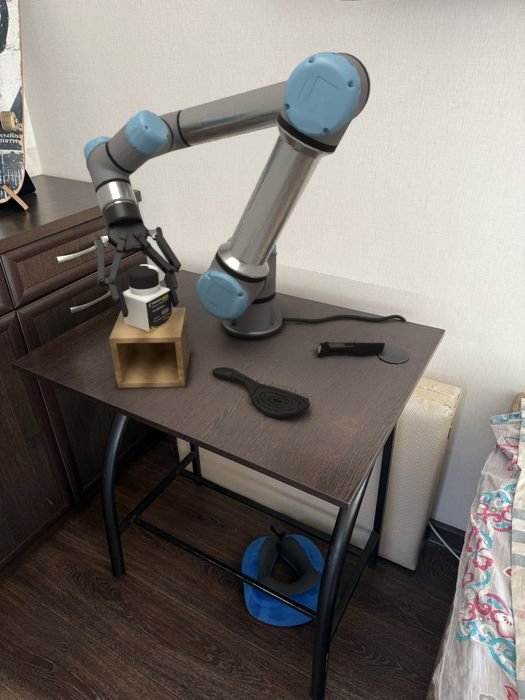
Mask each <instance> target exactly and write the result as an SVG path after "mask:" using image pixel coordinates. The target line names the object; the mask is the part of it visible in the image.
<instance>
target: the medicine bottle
mask: <svg viewBox="0 0 525 700" xmlns="http://www.w3.org/2000/svg"><path fill="white" fill-rule="evenodd" d="M159 271H160V270H159V268H158V267H157V266H156V265H152V264H146V263H145V264H144V263H143V264H136V265H134V266H132V267H130V268H129V269H127V272H126V274H127V275H126V276H127V281H128V282H127V283H128V289H126V290H124V291H122V292H123V295H124V299H125V302H126V305H127V308H128V312H129V313H128V317H124V319H125V324H127V325H130V326H133V327H135V328H138V329H141V330H144V331H147V332H152V331H154V330H156V329H157V328H159V327H161V326H162V325H164V324H166V323H167V322H169V321H171V320H172V319H173V314H172V308H173V305H172V302H171V295H170V289H169V288H167V287H166V286H162V285H161V281H160V272H159Z"/></svg>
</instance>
